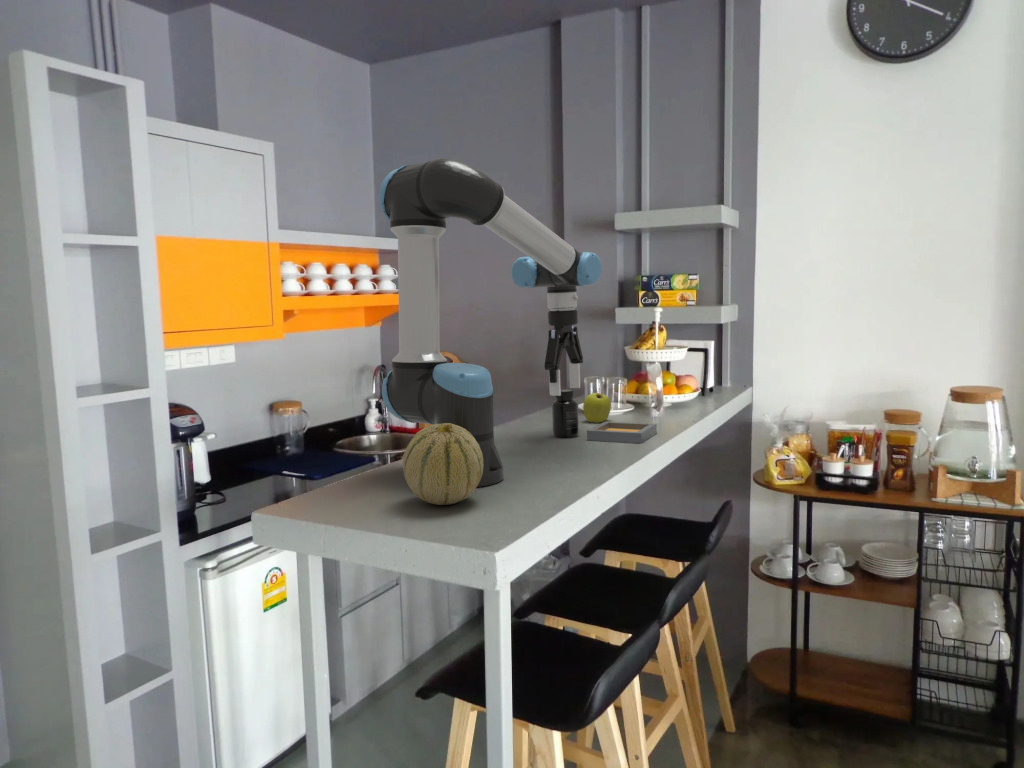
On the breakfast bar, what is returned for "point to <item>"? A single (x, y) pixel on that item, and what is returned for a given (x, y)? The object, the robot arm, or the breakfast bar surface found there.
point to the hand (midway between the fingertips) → (565, 391)
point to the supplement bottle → (565, 415)
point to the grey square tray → (622, 432)
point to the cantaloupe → (443, 464)
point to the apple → (597, 407)
